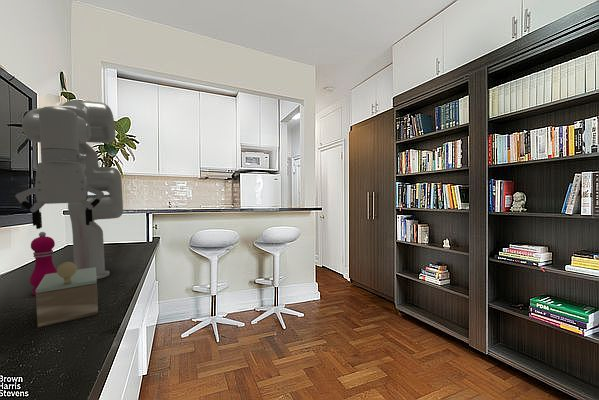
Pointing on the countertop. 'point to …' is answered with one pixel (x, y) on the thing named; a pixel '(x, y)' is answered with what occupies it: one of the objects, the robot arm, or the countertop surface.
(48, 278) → the lid
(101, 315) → the countertop surface
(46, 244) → the pepper mill
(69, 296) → the box
